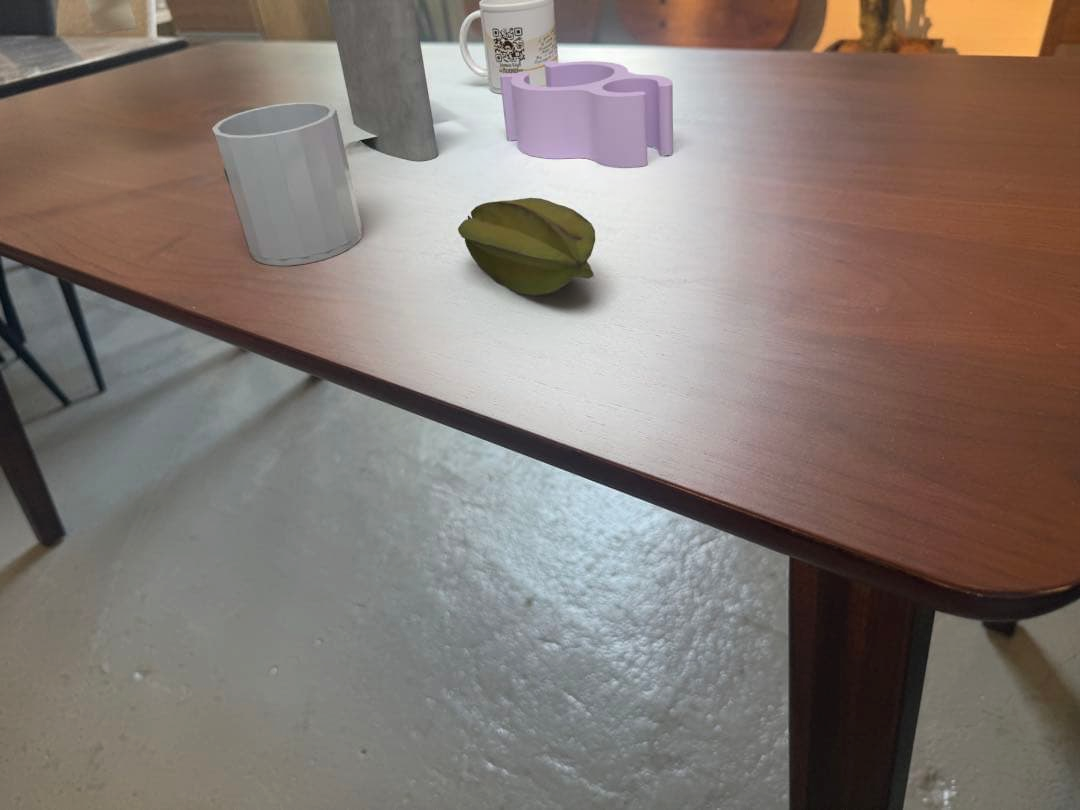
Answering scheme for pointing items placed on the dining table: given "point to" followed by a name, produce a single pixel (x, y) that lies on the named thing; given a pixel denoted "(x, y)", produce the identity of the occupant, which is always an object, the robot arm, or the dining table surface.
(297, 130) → the canister
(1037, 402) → the dining table surface
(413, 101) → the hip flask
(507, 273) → the fruit
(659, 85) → the clip
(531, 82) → the mug
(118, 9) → the brush
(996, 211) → the dining table surface
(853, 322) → the dining table surface
